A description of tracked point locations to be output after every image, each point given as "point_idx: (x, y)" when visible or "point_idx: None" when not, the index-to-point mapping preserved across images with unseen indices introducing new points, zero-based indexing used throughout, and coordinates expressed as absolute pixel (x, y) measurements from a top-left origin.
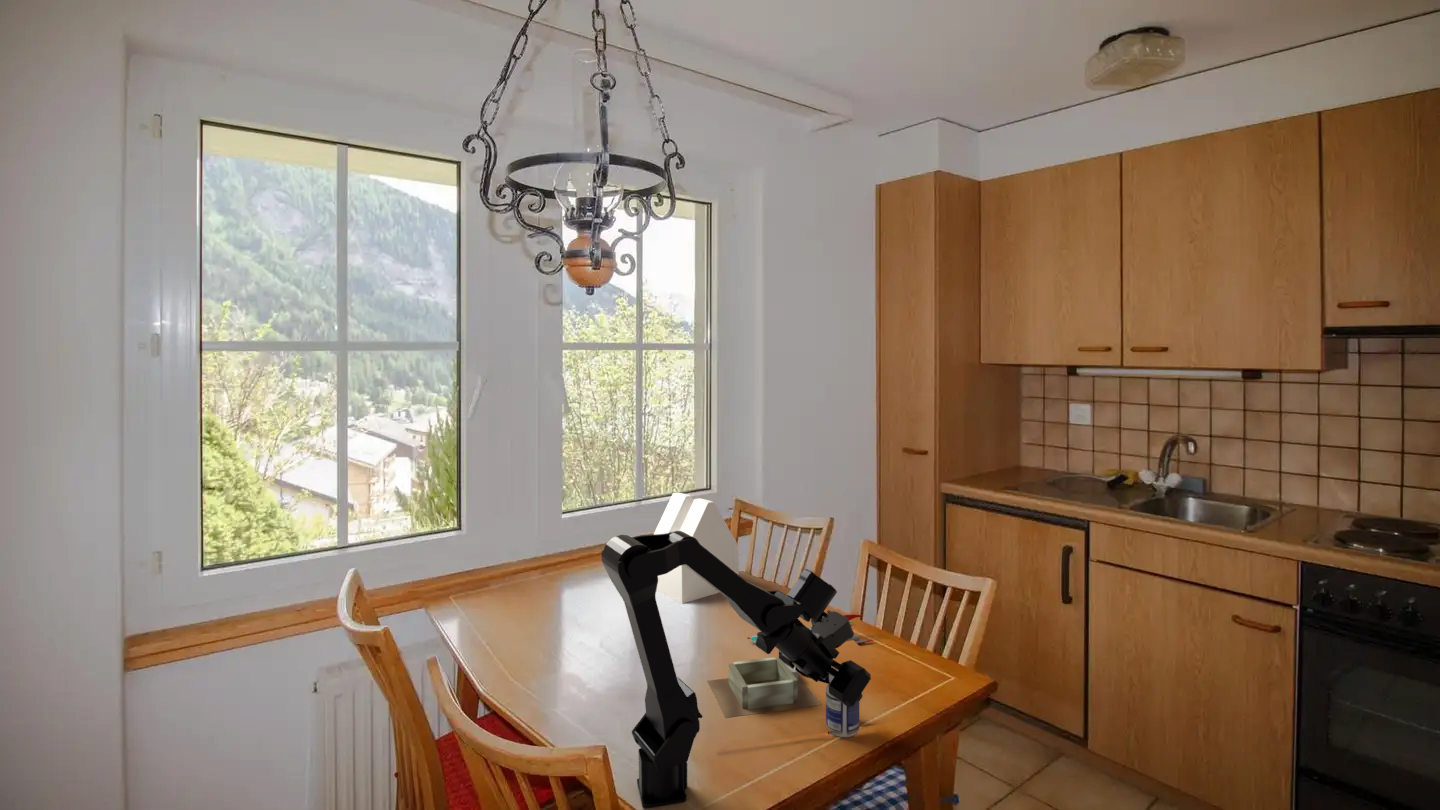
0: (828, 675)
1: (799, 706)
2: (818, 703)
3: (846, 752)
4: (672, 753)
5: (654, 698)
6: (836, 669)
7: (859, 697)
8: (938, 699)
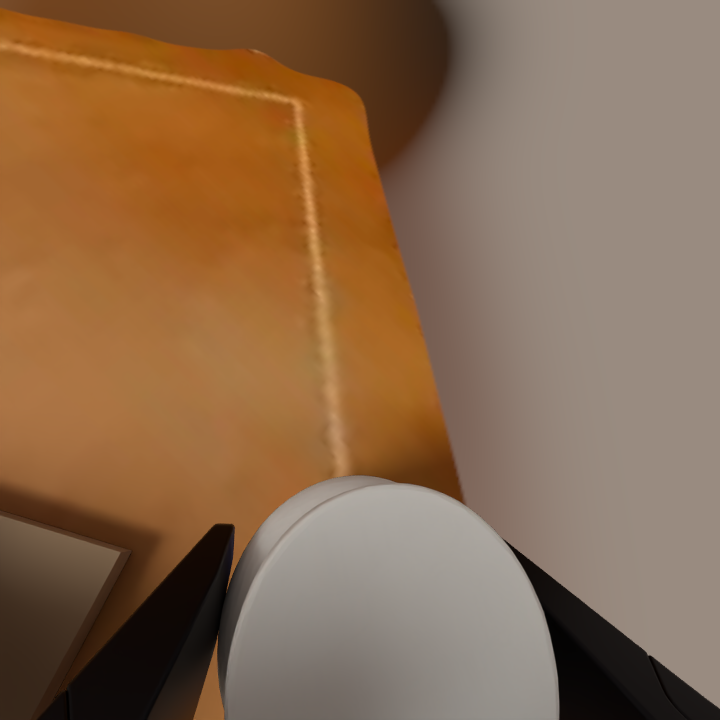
0: (181, 707)
1: (20, 708)
2: (100, 559)
3: None
4: None
5: None
6: (256, 646)
7: None
8: (354, 193)
